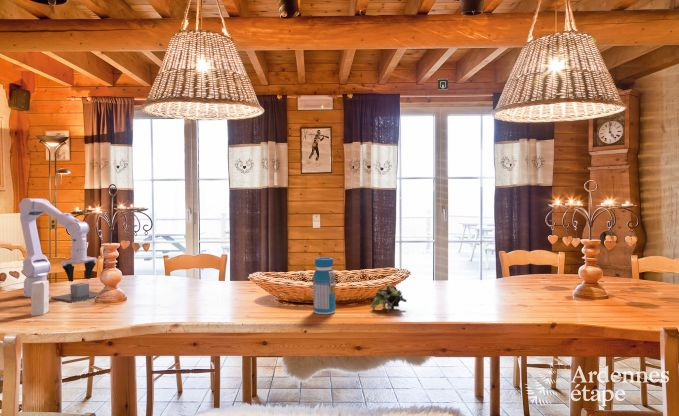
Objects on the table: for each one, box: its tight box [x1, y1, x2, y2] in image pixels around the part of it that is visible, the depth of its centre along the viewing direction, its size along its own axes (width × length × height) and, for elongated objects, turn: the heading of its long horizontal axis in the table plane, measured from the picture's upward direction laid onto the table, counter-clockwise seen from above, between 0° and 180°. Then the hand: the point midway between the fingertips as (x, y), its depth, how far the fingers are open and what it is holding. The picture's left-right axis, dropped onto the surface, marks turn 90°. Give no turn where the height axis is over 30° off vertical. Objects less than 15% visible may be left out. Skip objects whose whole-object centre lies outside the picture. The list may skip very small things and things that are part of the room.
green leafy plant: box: [370, 284, 407, 314], centre depth 170 cm, size 11×11×12 cm
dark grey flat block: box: [50, 290, 100, 303], centre depth 201 cm, size 16×16×4 cm
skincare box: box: [30, 279, 50, 317], centre depth 170 cm, size 6×4×12 cm
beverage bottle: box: [312, 256, 336, 315], centre depth 168 cm, size 8×8×20 cm
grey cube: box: [69, 282, 90, 297], centre depth 200 cm, size 5×5×5 cm
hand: (79, 280), depth 201 cm, fingers open, 7 cm apart
